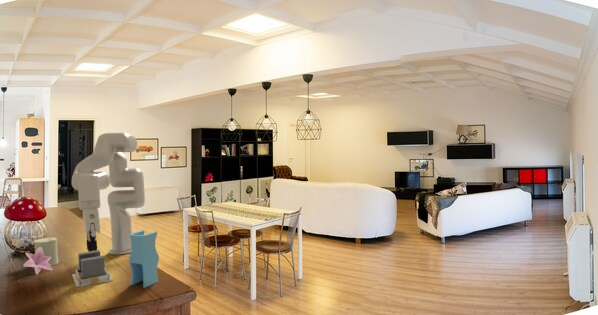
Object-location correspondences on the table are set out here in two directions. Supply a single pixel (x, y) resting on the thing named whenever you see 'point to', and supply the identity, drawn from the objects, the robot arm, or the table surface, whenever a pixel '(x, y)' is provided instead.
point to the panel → (92, 267)
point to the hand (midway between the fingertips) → (92, 249)
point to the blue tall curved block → (143, 258)
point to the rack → (93, 280)
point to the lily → (38, 261)
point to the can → (48, 248)
